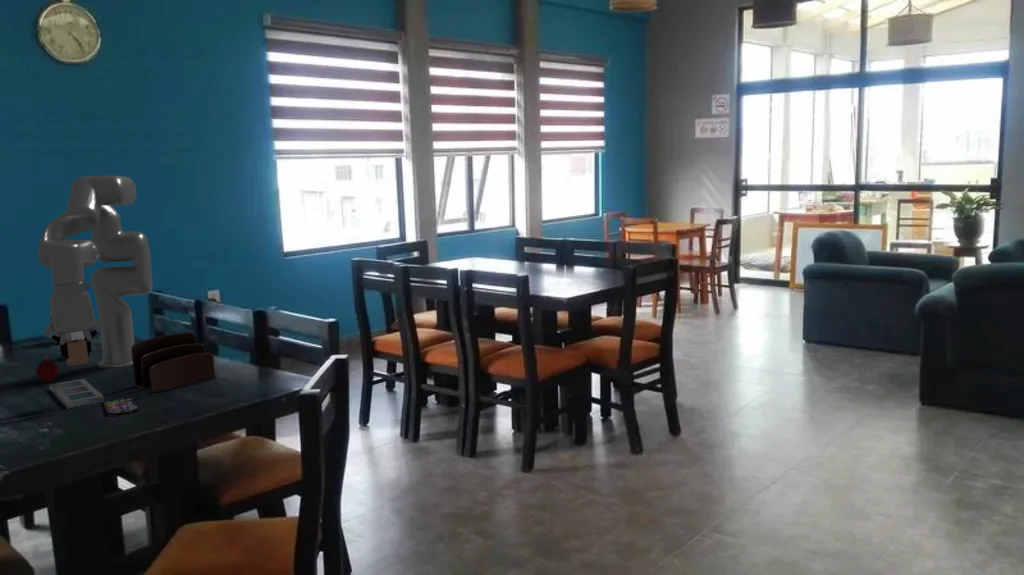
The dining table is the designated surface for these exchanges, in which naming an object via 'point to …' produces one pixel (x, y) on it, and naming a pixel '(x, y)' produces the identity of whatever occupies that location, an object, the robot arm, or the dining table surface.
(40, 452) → the dining table surface
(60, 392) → the pale grey slotted tray
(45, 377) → the onion
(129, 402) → the smartphone
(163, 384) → the letter holder
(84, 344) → the brown rectangular block
